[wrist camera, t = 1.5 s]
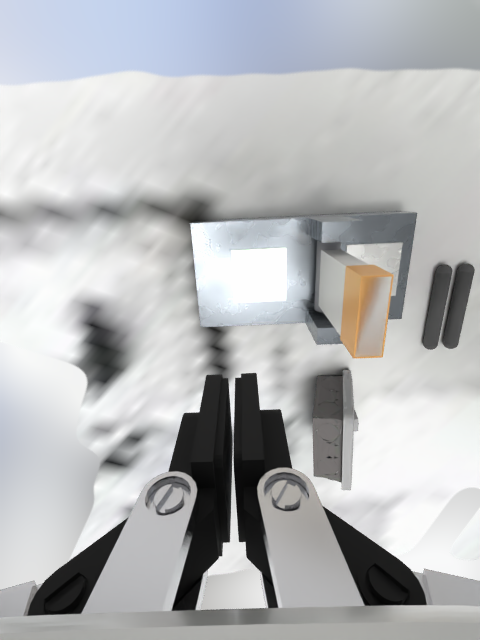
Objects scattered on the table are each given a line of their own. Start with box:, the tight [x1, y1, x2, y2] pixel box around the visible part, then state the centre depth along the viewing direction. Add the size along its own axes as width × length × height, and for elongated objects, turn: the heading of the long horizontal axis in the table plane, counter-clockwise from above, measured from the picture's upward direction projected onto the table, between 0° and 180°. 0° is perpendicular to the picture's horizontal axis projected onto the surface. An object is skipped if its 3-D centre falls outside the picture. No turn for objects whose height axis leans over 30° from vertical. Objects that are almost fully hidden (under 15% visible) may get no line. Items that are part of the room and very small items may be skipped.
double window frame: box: [191, 211, 417, 345], centre depth 29 cm, size 20×10×8 cm, turn 93°
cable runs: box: [423, 264, 474, 349], centre depth 34 cm, size 4×9×1 cm, turn 3°
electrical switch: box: [313, 370, 359, 490], centre depth 35 cm, size 9×5×9 cm, turn 6°
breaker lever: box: [314, 241, 394, 358], centre depth 24 cm, size 2×6×12 cm, turn 3°
